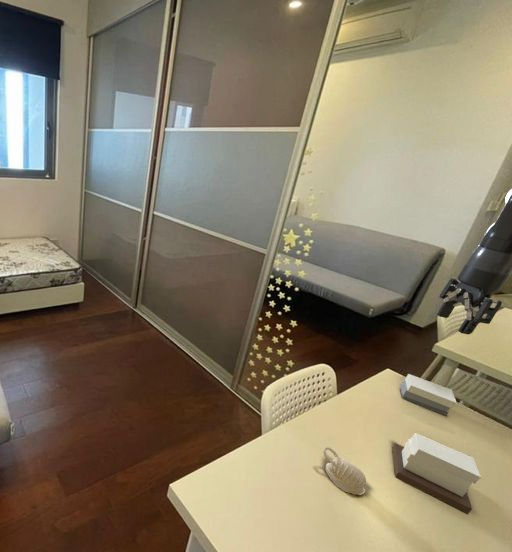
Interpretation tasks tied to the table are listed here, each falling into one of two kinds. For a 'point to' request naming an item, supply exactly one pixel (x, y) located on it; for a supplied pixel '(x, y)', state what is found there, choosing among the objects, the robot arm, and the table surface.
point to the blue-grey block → (422, 400)
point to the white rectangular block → (430, 391)
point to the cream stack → (436, 470)
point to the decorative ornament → (345, 474)
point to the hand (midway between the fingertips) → (452, 324)
